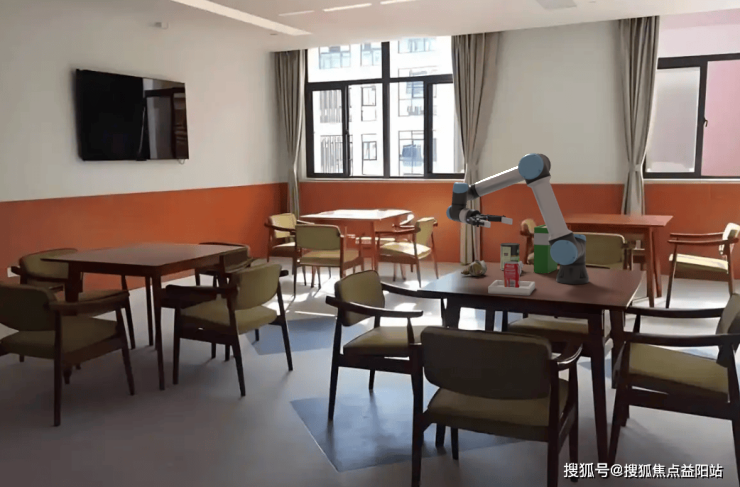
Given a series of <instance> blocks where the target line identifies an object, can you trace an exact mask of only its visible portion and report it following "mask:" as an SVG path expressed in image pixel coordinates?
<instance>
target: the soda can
mask: <svg viewBox="0 0 740 487" xmlns="http://www.w3.org/2000/svg"><path fill="white" fill-rule="evenodd" d="M505 263H506V264H505V265H504V270H503V280H504V287H514V288H519V286H520V281H521V275H520V266H519V264H518V262H514V261H509V262H505Z"/></svg>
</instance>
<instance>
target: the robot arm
mask: <svg viewBox="0 0 740 487" xmlns="http://www.w3.org/2000/svg"><path fill="white" fill-rule="evenodd" d="M551 162H552V161H550V159H549V157H548V156H546V155H545V154H543V153H535V152H531V153H527V154H526V155H524V156H522V157H521V159H520V160H519V161H518V165H517V166H515V167H512V168H510V169H508V170H505V171H503V172H500V173H497V174H495V175H492V176H489V177H486V178H484V179H482V180H480V181H477V182H474V183H471V184H469V183H467V182H460V181H459V182H454V183H453V187H452V193H451V194H452V195H451V196H452V197H451V205H449V206H447V209H446V212H445V213H446V214H445V215H446V218H448V219H449V220H450V221H453V222H456V223H457V222H458V223H463V224H465V225H471V226H473V227H475V226H476V228H480V227H484V228H489V229H490V228H491V226H492V224H491V222H492V223H494V222H496V223H501V224H506V225H509V226H510V225H513V218H510V217H506V215H504V214H503V215H497V214H484V213H481V211H479V210H478V209H473V208H468V207H467V203H468V201H474V200H477V199H478V198H481V197H483V196H485V195H488V194H492V193H494V192H496V191H499V190H502V189H504V188H505V189H506V188H508V187H509V186H510V187H511V186H512V185H515V184H519V183H521V182H523V181H524V182H525V184H526V186H527V188H528V187H529V188H531V190H532V193H533V195H534V198H535V200H536V204H537V205H538V206H537V207H538V208H539V211H540V213H541V214H540V215H541V216H542V219H543V221H544V224H545V225H546V227H547V229H548V232H549V235H550V237H549V239H548V241H549V244H550V247H551V249H550V254H551V257H552V259H553V260H554V261H555V262H556V263H557V265H559V269H558V271H557V273H556V276H555V277H556V282H557V283H561V284H566V285H567V284H568V285H582V284H588V283H590V277H589V273H588V270H587V267H586V261H587V260H586V259H587V257H586V255H587V253H586V251H587V250H586V249H587V237H586V235H584V234H577V233H574V232H573V231H572V230H570V229H569V228H568V226H567V223H566V221H565V218H564V216H563V213H562V210H561V208H560V206H559V203H558V200H557V198H556V195H555V193H554V190H553V186H552V184H551V182H550V180H551V178H552V176H551V173H550V171H551V170H552V169H551V168H552V163H551Z"/></svg>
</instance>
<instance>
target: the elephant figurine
mask: <svg viewBox="0 0 740 487" xmlns="http://www.w3.org/2000/svg"><path fill="white" fill-rule="evenodd" d="M518 264H519V266H520V276H521V275H522V270H523V267H524V263H523V261H522V260H519V262H518Z"/></svg>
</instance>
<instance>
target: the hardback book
mask: <svg viewBox="0 0 740 487" xmlns="http://www.w3.org/2000/svg"><path fill="white" fill-rule="evenodd" d="M549 237H550V235H549V232H548V229H547V227H546V224H545V223H544V224H541V225H538V226H534V227H533V273H534V272H535V273H534V274H544V273H548V274H550V273H552V272H554V271H556V270H558V263H556V262H555V261H554V260H553V259H552V257H551V254H550V249H551V247H550V244H549V241H548V239H549ZM549 272H550V273H549Z"/></svg>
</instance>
